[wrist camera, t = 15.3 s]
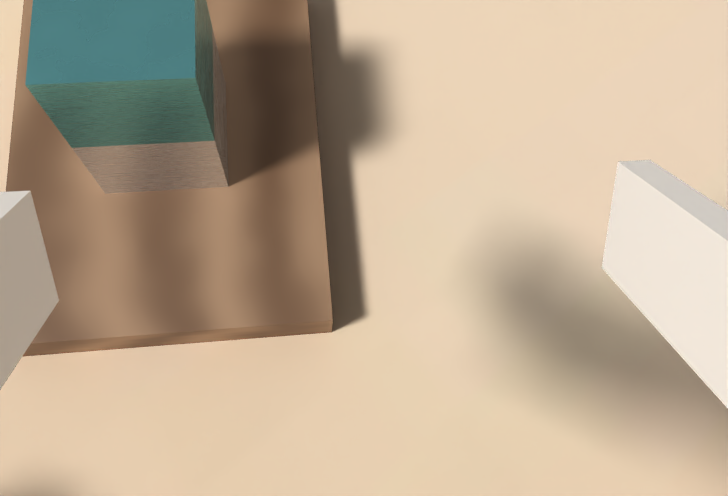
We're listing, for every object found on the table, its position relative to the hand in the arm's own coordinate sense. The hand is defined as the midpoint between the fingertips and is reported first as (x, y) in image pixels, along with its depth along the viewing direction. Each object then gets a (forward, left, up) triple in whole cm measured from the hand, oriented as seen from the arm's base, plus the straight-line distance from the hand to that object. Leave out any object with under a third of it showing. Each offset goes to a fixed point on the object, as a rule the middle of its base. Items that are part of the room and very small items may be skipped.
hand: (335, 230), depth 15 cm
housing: (+8, -15, -21) cm, 27 cm away
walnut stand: (+8, -15, -24) cm, 30 cm away
